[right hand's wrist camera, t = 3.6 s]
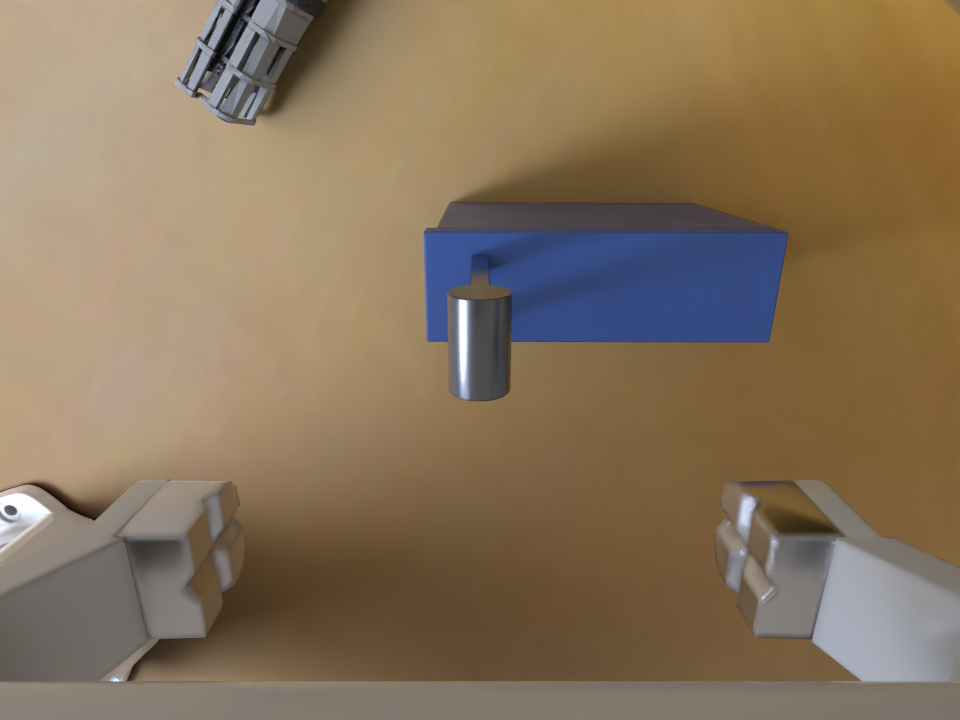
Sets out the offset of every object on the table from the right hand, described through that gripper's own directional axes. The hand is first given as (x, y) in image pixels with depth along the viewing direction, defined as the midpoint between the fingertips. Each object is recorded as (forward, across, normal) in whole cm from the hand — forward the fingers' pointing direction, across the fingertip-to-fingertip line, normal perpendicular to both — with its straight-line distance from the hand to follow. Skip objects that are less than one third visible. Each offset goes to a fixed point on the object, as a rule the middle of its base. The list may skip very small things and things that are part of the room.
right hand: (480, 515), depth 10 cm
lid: (+17, -5, 0) cm, 18 cm away
